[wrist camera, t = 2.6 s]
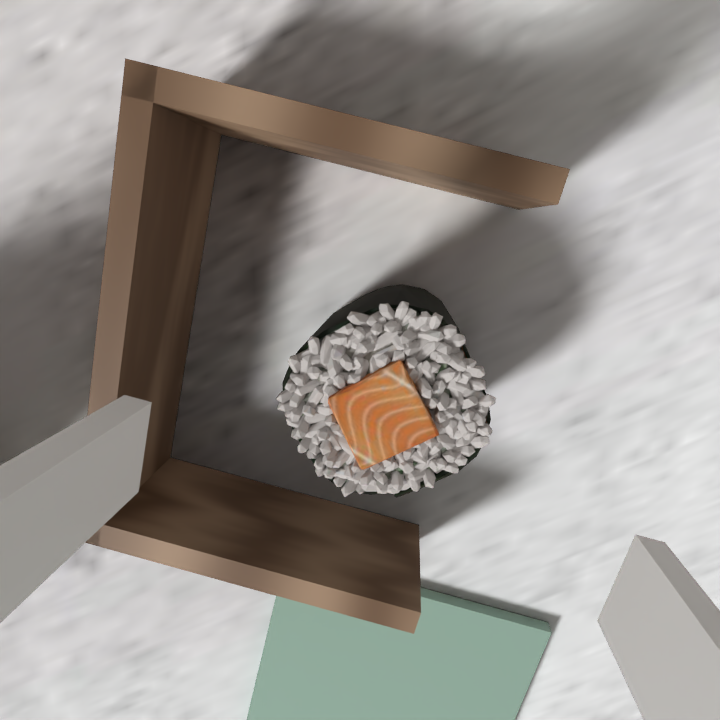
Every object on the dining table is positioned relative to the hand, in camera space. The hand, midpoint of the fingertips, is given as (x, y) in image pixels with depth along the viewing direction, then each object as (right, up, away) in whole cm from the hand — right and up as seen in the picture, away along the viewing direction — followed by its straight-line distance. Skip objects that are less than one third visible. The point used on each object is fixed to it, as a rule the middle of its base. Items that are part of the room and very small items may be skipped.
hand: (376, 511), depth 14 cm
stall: (-3, +5, +14) cm, 15 cm away
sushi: (+1, +4, +14) cm, 15 cm away
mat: (+1, -17, +19) cm, 26 cm away
